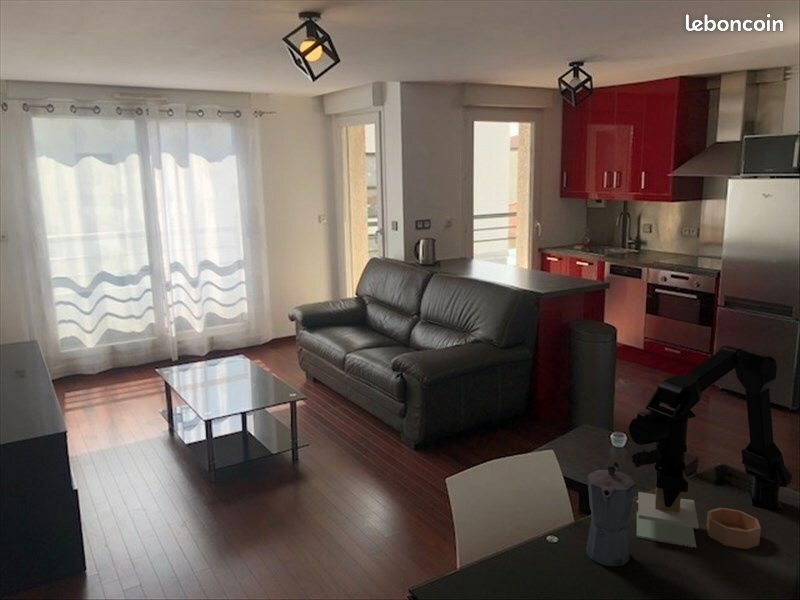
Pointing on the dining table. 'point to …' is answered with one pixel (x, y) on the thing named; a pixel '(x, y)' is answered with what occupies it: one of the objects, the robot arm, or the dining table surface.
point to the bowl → (733, 528)
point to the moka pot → (609, 516)
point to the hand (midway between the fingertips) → (667, 503)
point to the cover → (667, 509)
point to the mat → (665, 532)
